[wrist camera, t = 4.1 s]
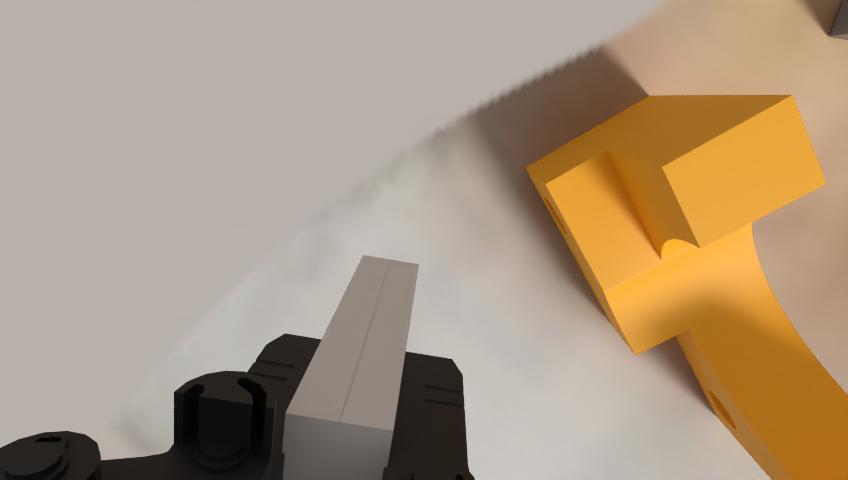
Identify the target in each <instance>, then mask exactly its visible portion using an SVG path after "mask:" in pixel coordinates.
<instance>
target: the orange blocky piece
mask: <svg viewBox="0 0 848 480" xmlns="http://www.w3.org/2000/svg"><path fill="white" fill-rule="evenodd" d="M525 169H526V170H527V172H528V174H529V176H530V178H531V179H532V181H533V183H534V185H535V187H536V189H537V190H538V192H539V194H540V196H541V198H542V199H543V201H544V203H545V205H546V207H547V209H548V210H549V212H550V214H551V216H552V218H553V219H554V221H555V223H556V225H557V227H558V229H559V230H560V232H561V234H562V236H563V238H564V239H565V241H566V243H567V245H568V247H569V249H570V250H571V252H572V254H573V256H574V258H575V259H576V261H577V263H578V265H579V267H580V269H581V270H582V272H583V274H584V276H585V278H586V279H587V281H588V283H589V285H590V287H591V288H592V290H593V292H594V294H595V296H596V298H597V299H598V301H599V303H600V305H601V307H602V308H603V310H604V312H605V314H606V316H607V318H608V319H609V321H610V323H611V324H612V326H613V327H614V328H615V329H616V331H617V332H618V333H619V335H620V336H621V337H622V339H623V340H624V341H625V343H626V344H627V345H628V346H629V348H630V349H631V350H632V352H633V353H634V354H635V356H636V355H638V354H640V353H642V352H644V351H646V350H648V349H650V348H652V347H654V346H656V345H658V344H660V343H662V342H665V341H667V340H669V339H671V338H673V337H676V339H677V341H678V343H679V345H680V347H681V349H682V351H683V352H684V354H685V356H686V358H687V360H688V362H689V364H690V366H691V368H692V370H693V372H694V374H695V376H696V378H697V380H698V382H699V384H700V385H701V387H702V389H703V391H704V393H705V395H706V397H707V399H708V401H709V403H710V405H711V407H712V409H713V411H714V413H715V415H716V416H717V417H718V419H719V420H720V421H721V422H722V423H723V424H724V426H725V427H726V428H727V429H728V430H729V431H730V432H731V434H732V435H733V436H734V437H735V438H736V439H737V440H738V442H739V443H740V444H741V445H742V446H743V447H744V448H745V450H746V451H747V452H748V453H749V454H750V455H751V456H752V458H753V459H754V460H755V461H756V462H757V463H758V464H759V466H760V467H761V468H762V469H763V470H764V471H765V472H766V474H767V475H768V476H769V477H770V478H771V479H772V480H848V394H847V393H846V392H845V391H844V390H843V389H842V388H841V387H840V386H839V385H838V383H837V382H836V381H835V380H834V379H833V378H832V377H831V375H830V374H829V373H828V372H827V371H826V369H825V368H824V367H823V366H822V365H821V363H820V362H819V361H818V360H817V358H816V357H815V356H814V354H813V353H812V352H811V351H810V349H809V348H808V347H807V345H806V344H805V343H804V341H803V340H802V338H801V337H800V336H799V334H798V333H797V331H796V330H795V328H794V327H793V325H792V324H791V322H790V321H789V319H788V318H787V316H786V315H785V313H784V311H783V310H782V308H781V306H780V305H779V303H778V301H777V299H776V298H775V296H774V294H773V292H772V290H771V288H770V286H769V284H768V282H767V280H766V277H765V275H764V273H763V271H762V268H761V265H760V263H759V260H758V257H757V253H756V250H755V246H754V241H753V235H752V222H753V221H755V220H757V219H759V218H761V217H763V216H765V215H767V214H769V213H771V212H773V211H774V210H776V209H778V208H780V207H782V206H784V205H786V204H788V203H790V202H792V201H794V200H796V199H798V198H800V197H802V196H804V195H806V194H808V193H809V192H811V191H813V190H815V189H817V188H819V187H821V186H823V185H825V184H827V183H826V181H825V178H824V176H823V173H822V170H821V168H820V165H819V163H818V160H817V157H816V155H815V152H814V150H813V147H812V144H811V142H810V139H809V137H808V134H807V131H806V129H805V126H804V124H803V121H802V119H801V116H800V113H799V111H798V108H797V106H796V103H795V100H794V98H793V95H671V96H648V97H646V98H644V99H643V100H641V101H639V102H637V103H636V104H634V105H632V106H630V107H629V108H627V109H625V110H624V111H622V112H620V113H618V114H617V115H615V116H613V117H612V118H610V119H608V120H606V121H605V122H603V123H601V124H599V125H598V126H596V127H594V128H593V129H591V130H589V131H587V132H586V133H584V134H582V135H581V136H579V137H577V138H575V139H574V140H572V141H570V142H569V143H567V144H565V145H563V146H562V147H560V148H558V149H556V150H555V151H553V152H551V153H550V154H548V155H546V156H544V157H543V158H541V159H539V160H538V161H536V162H534V163H532V164H531V165H529V166H527V167H525Z"/></svg>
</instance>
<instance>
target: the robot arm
mask: <svg viewBox="0 0 848 480" xmlns="http://www.w3.org/2000/svg"><path fill="white" fill-rule="evenodd" d="M418 266H419V264H413V263H407V262H401V261H395V260H389V259H383V258H377V257H371V256H365V255H363V257H362V259H361V261H360V263H359V265H358V267H357V269H356V271H355V273H354V275H353V277H352V279H351V281H350V283H349V285H348V287H347V289H346V291H345V293H344V295H343V297H342V299H341V302H340V304H339V306H338V308H337V310H336V312H335V314H334V316H333V318H332V320H331V322H330V324H329V326H328V328H327V330H326V332H325V334H324V336H323V338H322V340H321V339H315V338H309V337H303V336H297V335H291V334H284V335H282V336H280V337H278V338H277V339H275V340H273V341H272V342H270V343H268V344H267V345H266V346H265V347H264V349H263V350H262V352H261V353H260V355H259V356H258V357H257V359H256V362H254V363H253V365H252V366H251V367H250V369H249V370H248V372H239V371H222V372H216V373H210V374H205V375H202V376H200V377H197V378H195V379H193V380H190V381H188V382H186V383H185V384H184V385H183V386H181V387H180V388H179V389H177V390H176V391H175V392H174V444H173V446H172V447H171V448H170V450H169V451H168V452H165V453H162V454H158V455H152V456H146V457H136V458H124V459H113V460H101V455H100V451H99V448H98V444H97V443H96V442H95V441H94V440H92V439H91V438H90V437H88V436H86V435H85V434H80V433H74V432H69V431H61V432H45V433H40V434H37V435H33V436H29V437H26V438H22V439H18V440H17V441H14V442H12V443H10V444H8V445H6V446H4V447H2V448H0V480H475V479H474V477H473V476H472V474H471V473H470V472H469V468H468V459H467V442H466V425H465V409H464V395H463V375H462V373H461V372H460V370H459V369H458V367H457V366H456V364H455V363H454V362H453V360H452V359H448V358H442V357H436V356H430V355H424V354H417V353H411V352H405V351H406V345H407V338H408V332H409V325H410V319H411V312H412V305H413V299H414V292H415V286H416V279H417V273H418Z"/></svg>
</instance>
